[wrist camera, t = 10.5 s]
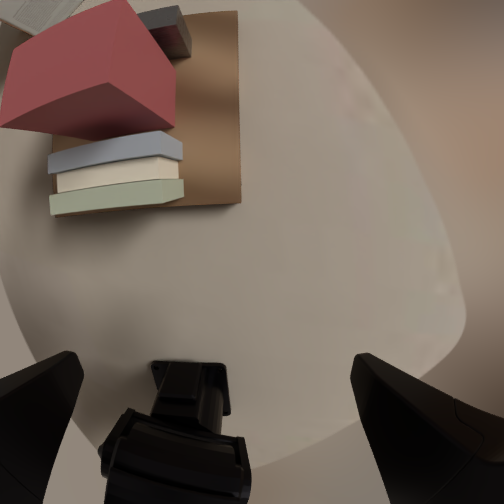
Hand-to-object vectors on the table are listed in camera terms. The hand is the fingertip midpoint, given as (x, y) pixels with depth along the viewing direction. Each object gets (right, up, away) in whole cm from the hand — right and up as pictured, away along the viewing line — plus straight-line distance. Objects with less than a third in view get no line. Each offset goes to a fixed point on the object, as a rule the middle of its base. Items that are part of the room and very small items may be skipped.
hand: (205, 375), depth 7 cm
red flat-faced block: (-6, +13, +7) cm, 16 cm away
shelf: (-6, +13, +9) cm, 17 cm away
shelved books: (-6, +9, +8) cm, 14 cm away
